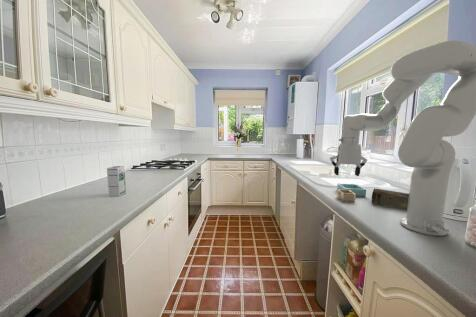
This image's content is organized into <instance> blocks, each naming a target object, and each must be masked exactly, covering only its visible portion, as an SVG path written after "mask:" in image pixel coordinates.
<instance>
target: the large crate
mask: <svg viewBox="0 0 476 317" xmlns="http://www.w3.org/2000/svg"><path fill="white" fill-rule="evenodd" d="M336 186H337V187H336V191H338V190H350V191H352V192H353V193H355V194H356V195H355V198H356V197H360V198H362V197H363V198H366V197H367V189H366V188H364V187H362V186H361V185H359V184H358V183H357V184H356V183H337V184H336Z"/></svg>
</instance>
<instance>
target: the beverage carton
mask: <svg viewBox="0 0 476 317" xmlns="http://www.w3.org/2000/svg"><path fill="white" fill-rule="evenodd" d="M371 193H372V194H371V204H374V205H377V206H378V205H379V206H385V207H390V208H396V209H400V210H401V209H402V210H406V211H407V207H408V199H409V192H401V191H395V190H393V191H392V190H386V189H380V188H373V190H372V192H371Z"/></svg>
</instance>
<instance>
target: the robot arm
mask: <svg viewBox="0 0 476 317" xmlns="http://www.w3.org/2000/svg"><path fill="white" fill-rule="evenodd" d="M439 73H440V74H446V75H454V76H456V77H458V79H457V80H456V81H455V82H454V83H453V84H452V85H451V86H450V87H449V89H448V91H447V92H446V94H445V96H444V98H443V100H442V101H441V103H440V104H433V105H429V106H426V107H424V108H422V109H421V110H420V111H419V112H418V113H417V114H416V115H415V116H414V117H413V119H412V120H411V123H410V124H409V126H408V128H407V130H406V133H405V134H404V137H403V138H402V141H401V143H400V145H399V148H398V152H397V153H398V154H397V155H398V160H399V161H400V162H401V163H402V164H403V165H405V166H407V167H409V168H413V170H412V173H411V177H410V183H409V192H408V194H409V199H408V207H407V210H406V217H402V218H401V219H400V222H399V223H400V224H401V225H402V226H403V227H405V228H406V229H409V230H410V231H413V232H416V233H420V234H423V235H430V236H436V237H441V236H442V237H443V236H446V235H448V233H449V232H450V229H449V228H447V227H445V221H444V213H445V208H446V207H445V205H446V199H447V192H448V186H449V179H450V174H451V170H452V167H453V164H454V162H455V160H456V149H455V148H454V145H453V144H451V143H450V142H449V141H447V140H445V139H443V138H444V137H445V138H446V137H456V136H458V135H461V134H463V133H464V132H465V131H466V130H467V129H468V127H470V125H471V123H472V122H473V119H474V118H475V116H476V44H473V43H470V42H466V41H462V40H457V39H456V40H454V39H453V40H446V41H442V42H439V43H436V44H433V45H429V46H426V47H424V48H421V49H420V48H419V49H416V50H413V51H412V52H409V53H406V54H404V55H402V56H401V57H399V58H398V59H396V61H394V63H393V64H392V66H391V68H390V75H391V77H392V79H393V80H391V81H390V83H389V84H388V85H387V86H386V87H385V88H384V89H383V90H382V94H381V95H382V97H383V99H384V100H385V104H384V105H383V106H382V107H381V109H380V110H378V112H376V113H359V114H347V115H345V116H344V117H343V122H342V130H341V131H342V133H341V134H342V135H341V137H340V138H338V142H340V143H339V144H338V149H337V152H336V153H337V154H335V155H332V156H331V157H329V161H330V163H331V164H332V165H333V167H334V169H333V173H334V174H335V176H339V175H340V174H339V173H340V167H339V166H340V165H341V164H342V165H353V166H354V165H355V166H356V167H355V168H354V175H355V176H356V177H359V176H360V174H361V169H362V168H363V167H364V166H365V165H366V163H367V162H368V159H367V158H366V157H363V156H362V146H361V143H360V134H361V132H377V131H380V130H382V129H385V127H387V125H389V124H390V123H391V122H392V121H394V119H396V117H397V116H398V114H399V112H400V109H401V107H402V105H403V103H404V102H405V101H406V100H407V99H409V97H411V96H412V95H413V94H414V93H415V92H416V91H417V90H418V89H420V88H421V87H422V86H423V84H425V83H426V82H427V81H429V79H430V78H432V76H433V75H434V74H439ZM335 160H336V162H335Z"/></svg>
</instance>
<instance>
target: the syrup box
mask: <svg viewBox="0 0 476 317" xmlns="http://www.w3.org/2000/svg"><path fill="white" fill-rule="evenodd" d="M106 176H107V177H106V178H107V188H108V189H107V190H108V196H109V197H121V196H122V195H124V194H126V193H127V189H126V178H125V177H126V173H125V166H123V165H113V166H111V167H106Z"/></svg>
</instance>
